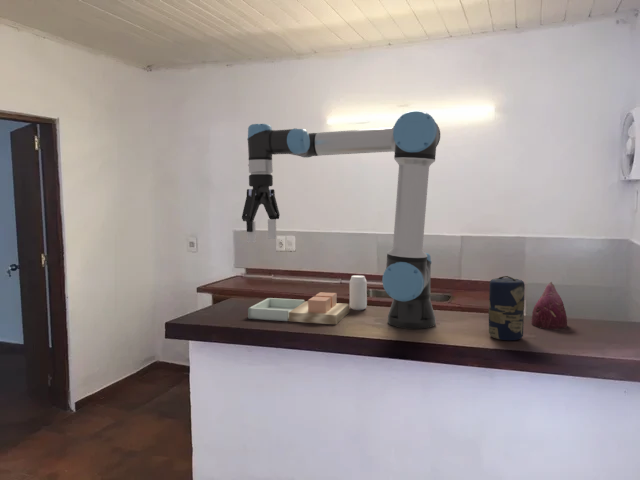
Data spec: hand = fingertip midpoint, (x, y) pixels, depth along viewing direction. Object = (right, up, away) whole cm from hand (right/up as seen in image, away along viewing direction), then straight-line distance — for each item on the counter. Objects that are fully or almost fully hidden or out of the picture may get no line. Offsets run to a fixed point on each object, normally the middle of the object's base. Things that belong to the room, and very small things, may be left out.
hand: (262, 240), depth 166 cm
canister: (+72, -28, -17) cm, 79 cm away
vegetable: (+91, -27, -3) cm, 95 cm away
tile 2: (+21, -23, +14) cm, 33 cm away
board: (+19, -26, +10) cm, 33 cm away
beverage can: (+32, -25, +22) cm, 46 cm away
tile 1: (+18, -23, +6) cm, 30 cm away
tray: (+4, -26, +15) cm, 30 cm away
